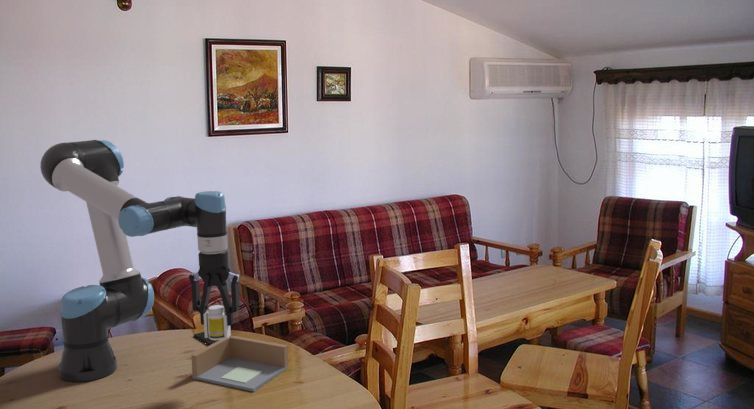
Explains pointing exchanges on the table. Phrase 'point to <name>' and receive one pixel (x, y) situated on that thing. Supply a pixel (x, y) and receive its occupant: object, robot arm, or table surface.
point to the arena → (240, 362)
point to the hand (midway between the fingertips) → (217, 336)
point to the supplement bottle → (216, 322)
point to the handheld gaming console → (206, 340)
